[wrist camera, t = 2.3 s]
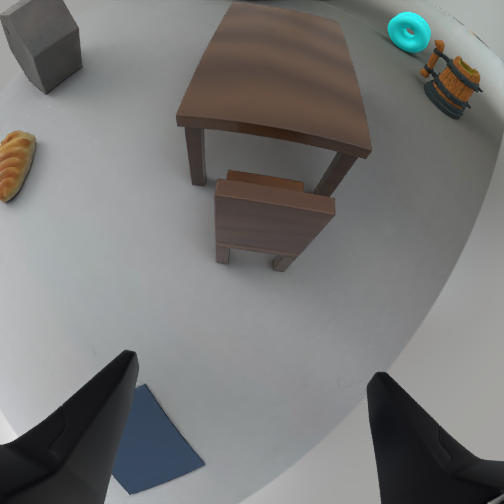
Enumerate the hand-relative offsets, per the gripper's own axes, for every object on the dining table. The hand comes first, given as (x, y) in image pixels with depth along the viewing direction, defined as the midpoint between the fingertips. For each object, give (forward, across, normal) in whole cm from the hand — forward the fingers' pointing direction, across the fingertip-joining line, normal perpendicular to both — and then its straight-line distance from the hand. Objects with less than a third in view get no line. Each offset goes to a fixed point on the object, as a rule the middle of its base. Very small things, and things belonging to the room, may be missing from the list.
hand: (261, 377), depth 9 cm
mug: (+43, -33, -22) cm, 59 cm away
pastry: (+21, +31, -1) cm, 38 cm away
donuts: (+57, -31, -36) cm, 75 cm away
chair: (+17, 0, +2) cm, 17 cm away
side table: (+29, 0, -9) cm, 30 cm away
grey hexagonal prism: (+36, +38, -16) cm, 55 cm away
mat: (+2, +8, +17) cm, 19 cm away
